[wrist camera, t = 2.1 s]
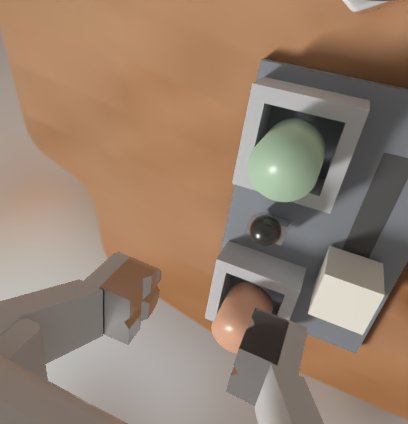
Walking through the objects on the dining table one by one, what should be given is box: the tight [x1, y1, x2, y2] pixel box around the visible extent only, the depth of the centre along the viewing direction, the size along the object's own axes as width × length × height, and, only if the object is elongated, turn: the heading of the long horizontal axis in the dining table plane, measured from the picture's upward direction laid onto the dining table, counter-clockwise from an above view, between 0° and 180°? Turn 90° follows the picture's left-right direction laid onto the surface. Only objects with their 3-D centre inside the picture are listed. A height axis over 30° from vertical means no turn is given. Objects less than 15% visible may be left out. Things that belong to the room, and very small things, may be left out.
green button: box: [247, 118, 326, 202], centre depth 22 cm, size 4×4×4 cm
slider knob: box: [308, 246, 385, 335], centre depth 27 cm, size 4×4×4 cm
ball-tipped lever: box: [245, 212, 292, 246], centre depth 25 cm, size 2×2×7 cm
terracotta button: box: [211, 282, 273, 354], centre depth 29 cm, size 4×4×4 cm
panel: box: [205, 58, 408, 353], centre depth 27 cm, size 14×22×4 cm, turn 171°
